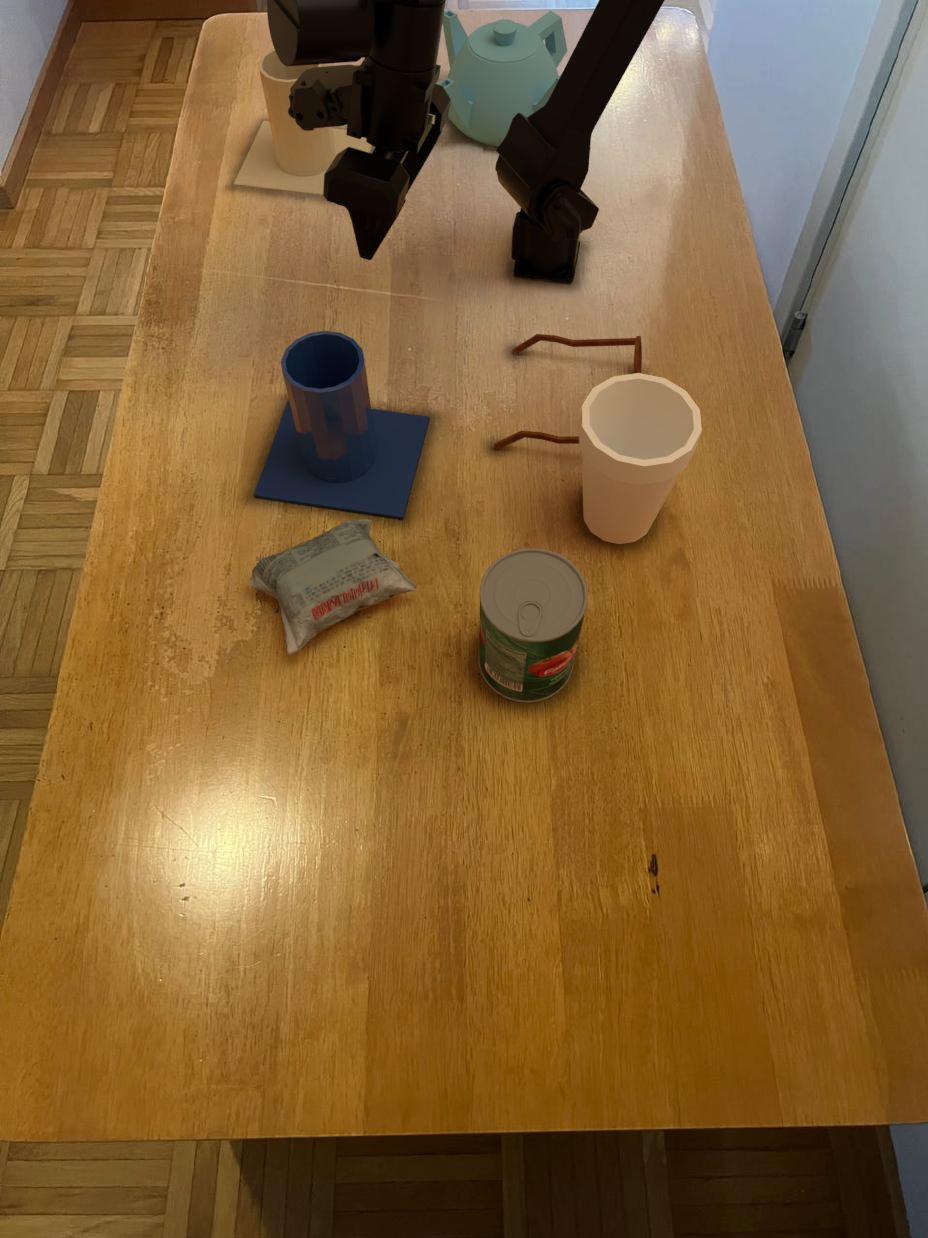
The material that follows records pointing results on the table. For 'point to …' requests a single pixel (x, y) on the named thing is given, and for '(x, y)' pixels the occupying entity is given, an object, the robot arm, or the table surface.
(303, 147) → the cream cup
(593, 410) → the foam cup
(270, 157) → the cream mat
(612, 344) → the glasses
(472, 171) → the table surface
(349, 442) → the blue cup
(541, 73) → the teapot
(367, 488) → the blue mat
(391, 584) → the packaged food
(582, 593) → the canned tomato
